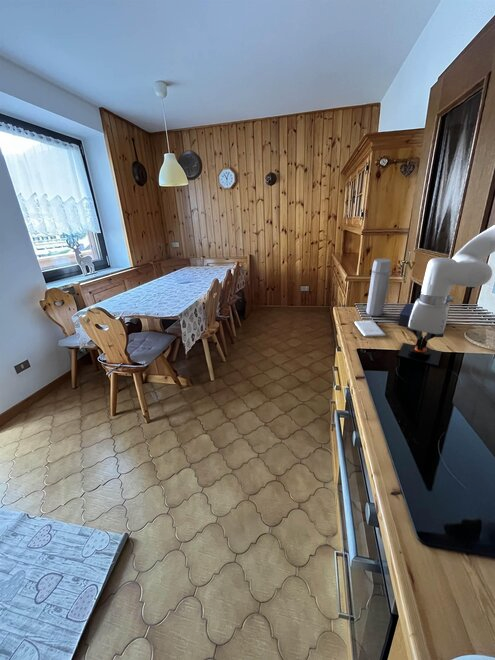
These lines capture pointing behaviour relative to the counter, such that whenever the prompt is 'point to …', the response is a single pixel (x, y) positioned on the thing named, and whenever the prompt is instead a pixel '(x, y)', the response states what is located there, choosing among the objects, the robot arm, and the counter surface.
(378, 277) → the water bottle
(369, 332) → the hard drive
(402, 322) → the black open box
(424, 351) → the button
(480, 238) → the robot arm
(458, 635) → the counter surface
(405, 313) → the cover
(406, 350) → the switch block
